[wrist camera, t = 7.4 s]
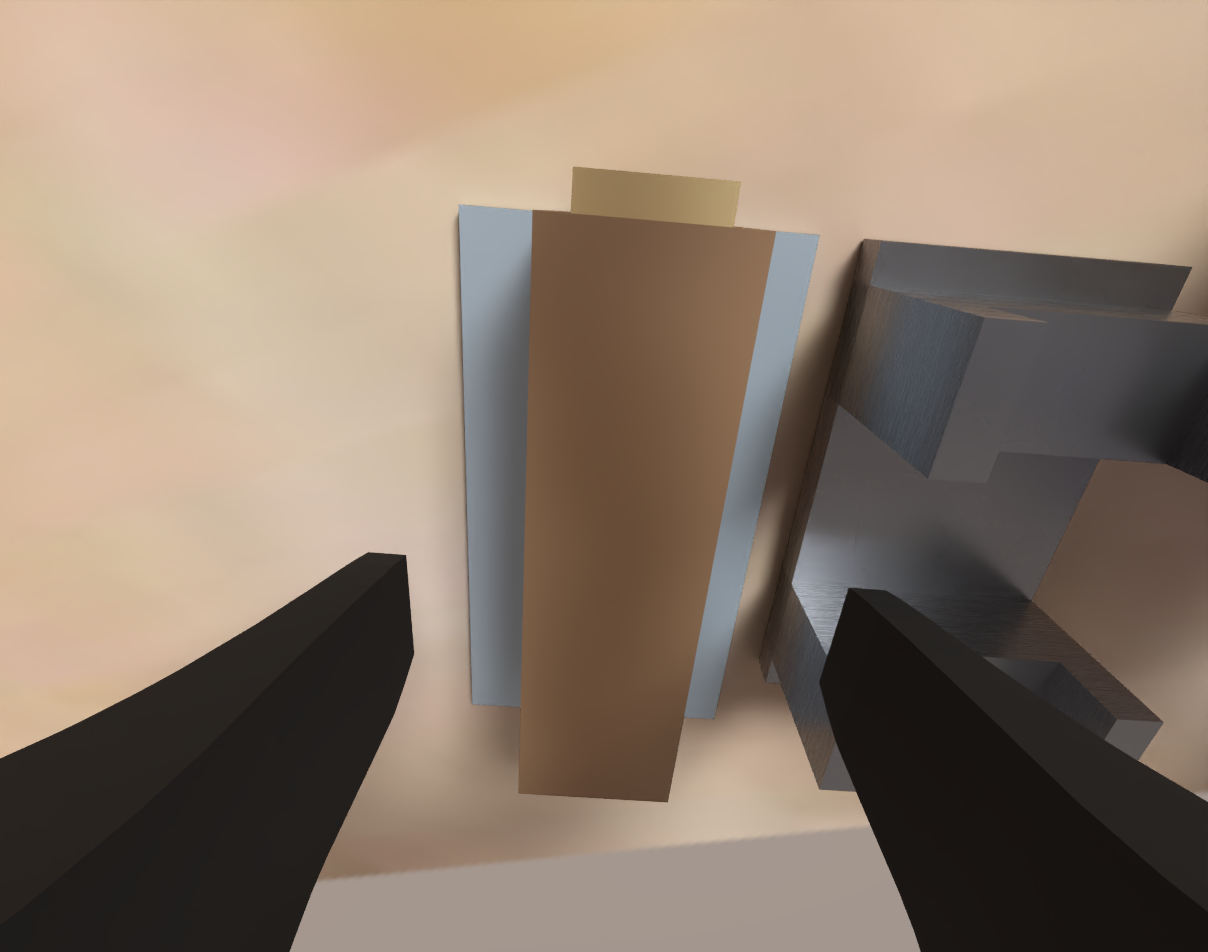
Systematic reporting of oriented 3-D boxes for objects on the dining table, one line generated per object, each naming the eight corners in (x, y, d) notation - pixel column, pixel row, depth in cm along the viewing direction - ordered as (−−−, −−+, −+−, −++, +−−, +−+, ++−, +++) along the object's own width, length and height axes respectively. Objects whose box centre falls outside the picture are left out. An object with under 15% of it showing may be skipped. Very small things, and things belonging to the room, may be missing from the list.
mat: (814, 234, 11) (819, 235, 11) (712, 711, 17) (714, 719, 17) (462, 204, 11) (458, 204, 11) (474, 696, 17) (472, 704, 16)
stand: (1155, 263, 12) (1455, 291, 7) (968, 675, 16) (1089, 831, 12) (864, 238, 11) (1007, 253, 7) (758, 661, 16) (810, 815, 12)
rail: (735, 191, 11) (785, 182, 8) (653, 704, 16) (664, 819, 13) (555, 176, 11) (533, 160, 8) (535, 697, 16) (518, 811, 13)
